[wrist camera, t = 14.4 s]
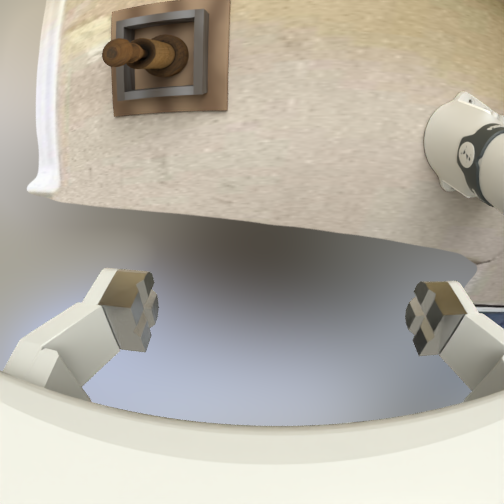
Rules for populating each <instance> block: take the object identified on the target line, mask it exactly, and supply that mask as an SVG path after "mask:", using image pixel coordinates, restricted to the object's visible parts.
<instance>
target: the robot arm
mask: <svg viewBox="0 0 504 504" xmlns="http://www.w3.org/2000/svg"><path fill="white" fill-rule="evenodd" d="M469 99H470V103H469ZM424 148H425V154H426V157H427V160H428V162H429V164H430V166H431V167H432V169H433V170H434V171H435V172H436V174H437V175H438V177H439V181H440V185H441V187H442V189H444V190H445V191H458V192H460V193H461V194H462V195H464V196H465V197H467V198H471V197H478V198H479V199H480V200H481V201H483V202H484V203H486V204H488V205H489V206H492V207H495V208H496V209H497V210H498V211H499V212H501V213H502V214H503V215H504V116H502V115H498V114H497V113H496V112H494V111H493V110H492V109H490V108H489V107H488V106H486V105H485V104H483V103H482V102H481V101H479V100H478V99H476V98H475V97H474V96H472V95H471V94H469V93H467V92H465V91H461V92H460V93H459V94H458V95H457V96H456V97H455V98H454V100H452V101H451V102H449V103H446V104H444V105H442V106H441V107H439V108H438V109H437V110H436V111H435V112H434V113H433V115H432V116H431V118H430V120H429V122H428V124H427V127H426V131H425V136H424ZM153 284H154V280H153V276H152V273H150V272H147V271H136V270H125V269H112V268H105V269H103V270H102V271H101V273H100V274H99V276H98V277H97V279H96V280H95V282H94V284H93V285H92V287H91V289H90V290H89V292H88V293H87V295H86V297H85V298H84V300H83V302H82V303H76V304H75V305H73V306H71V307H70V308H68V309H67V310H65V311H63V312H62V313H60V314H59V315H57V316H56V317H54V318H53V319H51V320H49V321H48V322H46V323H45V324H43V325H42V326H40V327H39V328H37V329H35V330H34V331H32V332H31V333H29V334H28V335H26V336H25V337H23V338H22V339H20V341H19V343H18V344H17V346H16V348H15V350H14V351H13V353H12V355H11V357H10V358H9V361H8V362H7V364H6V366H5V368H4V370H3V371H0V504H504V329H503V328H501V327H500V326H499V325H497V324H496V323H495V322H493V321H492V320H491V319H489V318H488V317H487V316H485V315H484V314H483V313H479V312H478V311H477V309H476V307H475V306H474V304H473V303H472V301H471V299H470V298H469V296H468V295H467V293H466V292H465V290H464V289H463V287H462V286H461V284H460V283H459V282H457V281H444V282H420V283H418V284H417V286H416V288H415V290H414V293H415V298H413V299H412V300H411V301H410V302H409V304H408V306H407V309H406V315H405V319H406V325H407V327H408V330H409V331H411V332H412V333H413V334H414V338H413V342H414V345H415V347H416V350H417V352H418V355H419V356H427V355H436V354H440V355H439V356H440V357H441V358H442V359H443V360H444V361H445V362H446V363H447V364H448V365H449V366H450V367H451V369H453V371H454V372H455V373H456V374H457V375H458V376H459V377H460V378H461V379H462V380H463V382H464V383H465V384H466V385H467V386H468V387H469V388H470V389H471V390H472V392H471V393H470V394H469V395H468V396H467V397H466V398H465V400H464V402H463V403H459V404H456V405H452V406H448V407H444V408H440V409H435V410H430V411H426V412H421V413H415V414H410V415H405V416H399V417H392V418H386V419H379V420H371V421H362V422H353V423H342V424H329V425H310V426H250V425H231V424H216V423H206V422H196V421H187V420H180V419H173V418H166V417H160V416H153V415H148V414H142V413H137V412H132V411H127V410H122V409H118V408H113V407H109V406H104V405H101V404H97V403H93V402H91V400H90V398H89V397H88V395H87V394H86V392H85V391H84V390H83V388H82V386H83V385H84V384H85V383H86V382H87V381H89V379H91V377H93V376H94V375H95V374H96V373H97V372H98V371H99V370H100V369H101V368H102V367H103V366H104V365H105V364H106V363H108V361H110V360H111V359H112V358H113V357H114V356H115V355H116V354H117V353H118V352H119V351H120V349H122V350H131V351H139V352H146V350H147V347H148V344H149V341H150V338H151V332H150V329H149V328H151V327H152V326H153V325H155V323H156V320H157V317H158V308H159V307H158V298H157V294H156V293H155V292H154V291H153V290H152V287H153Z"/></svg>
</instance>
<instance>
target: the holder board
mask: <svg viewBox="0 0 504 504" xmlns="http://www.w3.org/2000/svg"><path fill="white" fill-rule="evenodd" d="M229 24H230V0H175V1H167V2H160V3H154V4H148V5H142V6H137V7H132V8H127V9H123V10H118V11H114V12H112V25H111V41H112V40H114V39H117V38H123V39H126V40H128V41H129V42H131V41H133V40H135V39H138V38H147V39H152V38H154V37H156V36H159V35H165V34H167V35H172V36H176V37H178V38H180V39H181V40H183V41H184V43H185V44H186V46H187V48H188V52H189V58H188V62H187V64H186V66H185V67H184V68H183V70H182V71H180V72H179V73H178V74H176V75H173V76H169V77H157V76H154V75H151V74H150V73H148V72H147V71H146V70H145V69H133V68H130V67H129V66H127V64H124V65H123V66H120V67H111V71H112V95H113V110H114V117H117V116H125V115H135V114H146V113H159V112H176V111H206V110H227V106H228V57H229Z"/></svg>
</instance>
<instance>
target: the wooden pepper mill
mask: <svg viewBox="0 0 504 504" xmlns="http://www.w3.org/2000/svg"><path fill="white" fill-rule="evenodd" d="M102 57H103V60H104V62H105V63H106V64H107V65H109V66H111V67H120V66H123V65H124V64H127V66H129V67H130V68H133V69H145V70H146V71H147V72H148V73H150V74H151V75H154V76H157V77H169V76H173V75H176V74H178V73H179V72H180V71H182V70H183V68H184V67H185V66H186V64H187V62H188V58H189V52H188V48H187V46H186V44H185V43H184V41H183V40H181V39H180V38H178V37H176V36H172V35H167V34H165V35H159V36H156V37H154V38H152V39H147V38H138V39H135V40H133V41H131V42H129V41H128V40H126V39H123V38H117V39H114V40H112V41H110V42H109V43H108V44H107V45H106V46H105V47H104V49H103V53H102Z"/></svg>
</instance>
